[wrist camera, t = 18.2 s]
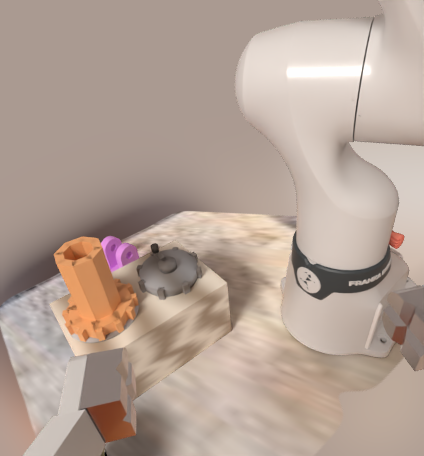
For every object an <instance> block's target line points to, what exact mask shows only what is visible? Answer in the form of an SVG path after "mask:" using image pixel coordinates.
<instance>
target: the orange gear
mask: <svg viewBox="0 0 424 456" xmlns="http://www.w3.org/2000/svg"><path fill="white" fill-rule="evenodd" d="M54 256H55V260H56V264H57V266H58V268H59V270H60V273H61V275H62V277H63V279H64V281H65V283H66V285H67V288H68V290H69V292H70V294H71V296H72V297H70V298H69V299H68V302H69V304H70V305H69V306H68V307H67V308H66V309H67V310H63V312H62V316H63V317H64V319H65V321H66V323H65V326H66V328H67V330H68V332H69V333H70V335H72V334H74V333H75V334H77V335H78V337H79V339H80V341H84V342H86V341H87V339H88V338H89V337H92V338H97V339H99V341H103V340H106V335H107V334H109V333H112V332H114V331H116V330H117V331H118V332H119V333H120V332H122V331H123V330H124V326H125V324H126V322H127V321H128V319H132V320H134V318H135V317H136V313H135V310H134V309H135V306H137V305H139V303H138V299H137V295H136V293H134V291H133V288H132V285H131V284H130V283H128V284H123V283H121V281H120V279H116V278H115V279H113V276H112V273H111V271H110V268H109V265H108V262H107V259H106V256H105V254H104V251H103V248H102V246H101V244H100V241H99V239H98V238H91V237H80V238H77V239H75V240H72V241H69V242H66V243H64V244H63V245H62V246H61V247H60V248H59V250H57V251H56V252H55V254H54Z"/></svg>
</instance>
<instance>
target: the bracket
mask: <svg viewBox="0 0 424 456" xmlns="http://www.w3.org/2000/svg"><path fill="white" fill-rule="evenodd" d="M101 246H102V248H103V251H104V254H105V256H106V259H107V262H108V265H109V268H110V271H111V272H113V271H115V270H117V269H119V268H121V267H123V266H125V265H127V264H129V263H131V262H133V261H135V260H137V259H139V256H138V252H137V249H136V247H135V246H133V245H131V244H129V243H123V244H122V243H121V241H120V240H119V239H117V238H115V237H113V236H108V237H106V238H105V239H104V240H103V241H102V243H101Z"/></svg>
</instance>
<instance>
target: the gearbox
mask: <svg viewBox="0 0 424 456" xmlns="http://www.w3.org/2000/svg"><path fill="white" fill-rule="evenodd" d="M151 250H152V252H151V253H149V254H147V255H145V256H143V257H141V258H139V259H137V260H135V261H133V262H131V263H129V264H127V265H125V266H123V267H121V268H119V269H117V270H115V271H113V272H111V273H112V276H113V279H115V278H116V279H120V281H121V283H123V284H128V283H130V284H131V285H132V288H133V291H134V293H136V295H137V299H138V303H139V305H137V306H135V309H134V310H135V313H136V317H135V318H134V320H132V319H128V321H127V322H126V324H125V326H124V330H123V331H122V332H120V333H119V332H118V331H117V330H116V331H114V332H112V333H109V334H107V335H106V340H103V341H99V339H97V338H92V337H89V338H88V339H87V341H86V342H84V341H80V339H79V337H78V335H77V334H75V333H74V334H72V335H70V333H69V332H68V330H67V328H66V326H65V323H66V321H65V319H64V317H63V316H62V312H63V310H67V309H66V308H67V307H68V306H69V305H70V304H69V302H68V299H69V298H70V297H72V296H71V294H68V295H66V296H64V297H62V298H60V299H58V300H56V301H54V302H52V303H50V306H51V308H52V310H53V312H54V314H55V316H56V318H57V320H58V322H59V324H60V326H61V328H62V330H63V332H64V334H65V336H66V338H67V340H68V342H69V344H70V346H71V348H72V350H73V352H74V354H75V356H80V355H85V354H90V353H96V352H101V351H107V350H112V349H118V348H124V347H125V348H126V350H127V352H128V362H130V363H132V366H133V368H134V373H135V379H136V397H135V399H136V398H137V397H139V396H140V395H141V394H143V393H144V392H146V391H147V390H149V389H150V388H151V387H153V386H154V385H156V384H157V383H158V382H160V381H161V380H163V379H164V378H166V377H167V376H168V375H170V374H171V373H173V372H174V371H175V370H177V369H178V368H180V367H181V366H182V365H184V364H185V363H187V362H188V361H190V360H191V359H192V358H194V357H195V356H197V355H198V354H199V353H201V352H202V351H204V350H205V349H206V348H208V347H209V346H211V345H212V344H214V343H215V342H216V341H218V340H219V339H221V338H222V337H223V336H225V335H226V334H228V333H229V332H230V331H232V329H231V319H230V308H229V297H228V286H227V282H226V281H224V280H223V279H222V278H221V277H220V276H218V275H217V274H216V273H215V272H214V271H212V270H211V269H210V268H209V267H208V266H206V265H205V264H204V263H203V262H202V261H200V260H199V259H198V258H197V254H196V253H194V252H192V253H191V252H189V251H188V250H187V249H186V248H185V247H183V246H182V245H181V244H180V243H179V242H177V241H176V240H174V241H172V242H170V243H168V244H167V245H165V246H163V247H161V248H158V244H152V245H151Z"/></svg>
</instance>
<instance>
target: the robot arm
mask: <svg viewBox="0 0 424 456" xmlns="http://www.w3.org/2000/svg"><path fill="white" fill-rule="evenodd" d="M377 1H378V2H379V4H380V6H381V8H382V10H383V14H381V15H377V16H375V18H374V17H363V18H347V19H329V20H312V21H300V22H296V23H292V24H288V25H284V26H281V27H277V28H274V29H271V30H267V31H264V32H261V33H258V34H256V35H255V36H254V37H253V38H252V39H251V40H250V42H249V43H248V44H247V46H246V48H245V49H244V51H243V53H242V55H241V57H240V60H239V63H238V66H237V70H236V75H235V93H236V99H237V102H238V106H239V108H240V110H241V112H242V114H243V115H244V118H245V119H246V120H247V122H248V123H249V124H250V125H251V126H252V127H254V128H255V129H256V130H258V131H259V132H260V133H261V134H263V135H264V136H265V137H266V138H267V139H268V140H269V141H270V142H271V143H272V145H273V146H274V147H275V148H276V149H277V151H278V152H279V154H280V155H281V157H282V158H283V160H284V161H285V163H286V165H287V167H288V169H289V171H290V173H291V176H292V178H293V181H294V185H295V190H296V201H297V230H296V232H295V234H294V236H293V241H292V245H291V250H292V252H291V253H290V256H289V261H288V267H287V273H286V277H284V278H283V279H282V280H281V285H280V286H281V291H282V294H283V300H282V304H281V317H282V320H283V323H284V325H285V327H286V328H287V330H288V331H289V332H290V333H291V335H292V336H293V337H294V338H296V339H297V340H298V341H299V342H301V343H302V344H304V345H305V346H307V347H309V348H311V349H313V350H316V351H319V352H322V353H326V354H332V355H350V354H365V355H369V356H374V357H386V356H388V354H389V353H390V351H391V349H392V347H393V345H394V343H395V342H396V343H398V344H400V345H401V353H402V355H403V356H404V357H405V359H406V360H407V361H408V363H409V364H410V365H411V367H412V368H413V370H414V371H417V370H422V369H424V285H422V286H417V285H416V284H415V283H414V282H413V281H412V280H411V279H410V278H409V277H408V274H409V267H408V265H407V264H406V263H405V261H404V260H403V259H401V258H400V257H399V256H398V255H396V254H395V253H393V252H392V251H390V246H389V245H391V246H392V247H394V248H396V249H397V248H399V247H400V246H401V244H402V243H403V240H404V235H402V234H399V233H395V232H394V231H393V230H392V229H393V225H394V221H395V217H396V213H397V210H398V205H399V198H398V193H397V190H396V187H395V186H394V184H393V183H392V181H391V180H390V179H389V178H388V176H387V175H386V174H385V173H384V172H383V171H381V170H380V169H379V168H377V167H376V166H374V165H372V164H370V163H369V162H367V161H365V160H364V159H362V158H361V157H360V156H358V155H357V154H356V153H355V151H354V150H353V149H352V147H351V146H350V144H349V142H354V141H360V142H373V143H387V144H403V145H416V146H424V0H377ZM381 341H383V342H385V343H382V342H381ZM135 397H136V379H135V373H134V368H133V366H132V363H130V362H128V352H127V350H126V348H125V347H124V348H118V349H112V350H107V351H101V352H96V353H90V354H85V355H80V356H75V357H71V358H70V360H69V362H68V365H67V370H66V375H65V381H64V386H63V391H62V396H61V402H60V407H59V412H58V415H56V416H52V418H51V419H50V420H49V421H48V423H47V424H46V425H45V427H44V428H43V429H42V431H41V432H40V433H39V435H38V436H37V437H36V439H35V440H34V441H33V443H32V444H31V445H30V447H29V448H28V449H27V450H26V452H25V453H24V454H23V456H101V454H102V452H103V450H104V448H105V446H106V444H105V443H108V442H112V441H116V440H119V439H123V438H127V437H131V436H135V435H136V409H135V407H134V404H133V400H134V399H135Z"/></svg>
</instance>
